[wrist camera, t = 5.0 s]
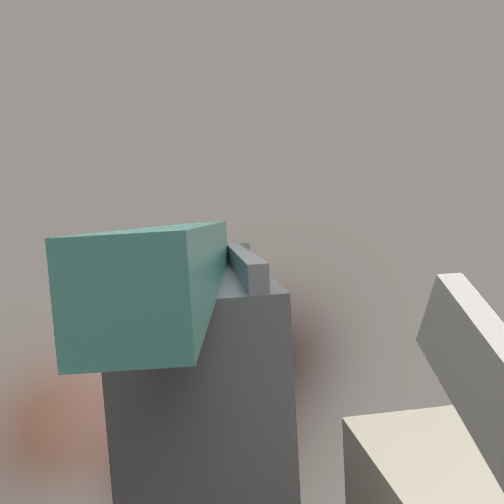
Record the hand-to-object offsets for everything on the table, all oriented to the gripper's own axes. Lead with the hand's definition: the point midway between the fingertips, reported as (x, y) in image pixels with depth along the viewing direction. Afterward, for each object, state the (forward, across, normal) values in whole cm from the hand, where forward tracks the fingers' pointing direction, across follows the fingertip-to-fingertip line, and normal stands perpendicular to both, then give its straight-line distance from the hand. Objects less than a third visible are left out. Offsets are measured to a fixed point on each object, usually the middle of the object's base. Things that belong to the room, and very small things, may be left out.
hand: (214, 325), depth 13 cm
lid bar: (+9, -1, -6) cm, 11 cm away
